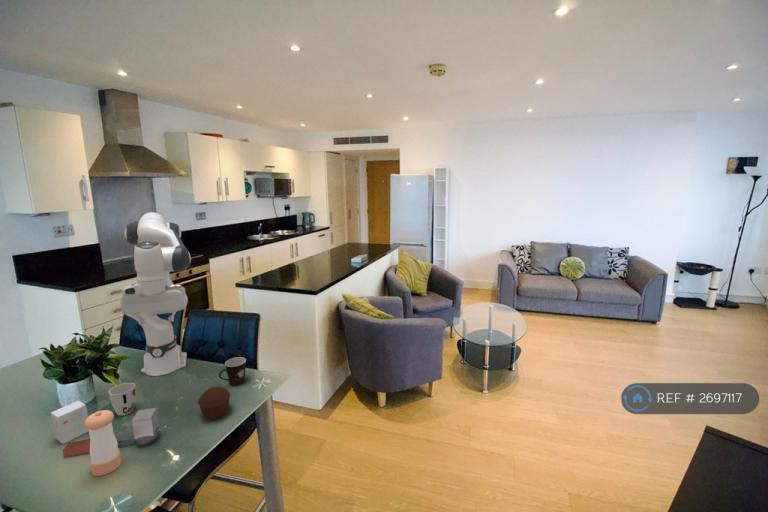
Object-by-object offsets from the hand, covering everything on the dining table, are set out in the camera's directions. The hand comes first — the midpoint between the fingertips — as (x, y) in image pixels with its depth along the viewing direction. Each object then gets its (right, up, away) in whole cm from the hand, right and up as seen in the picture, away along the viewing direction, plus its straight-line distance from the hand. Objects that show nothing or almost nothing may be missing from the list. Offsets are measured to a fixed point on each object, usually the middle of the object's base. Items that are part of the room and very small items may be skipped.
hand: (156, 322), depth 126 cm
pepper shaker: (-3, -42, -19) cm, 46 cm away
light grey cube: (+2, -36, -8) cm, 37 cm away
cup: (-17, -37, +7) cm, 41 cm away
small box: (-26, -39, -6) cm, 47 cm away
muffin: (+19, -37, +7) cm, 42 cm away
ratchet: (-7, -40, -11) cm, 42 cm away
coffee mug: (+16, -33, +27) cm, 46 cm away
